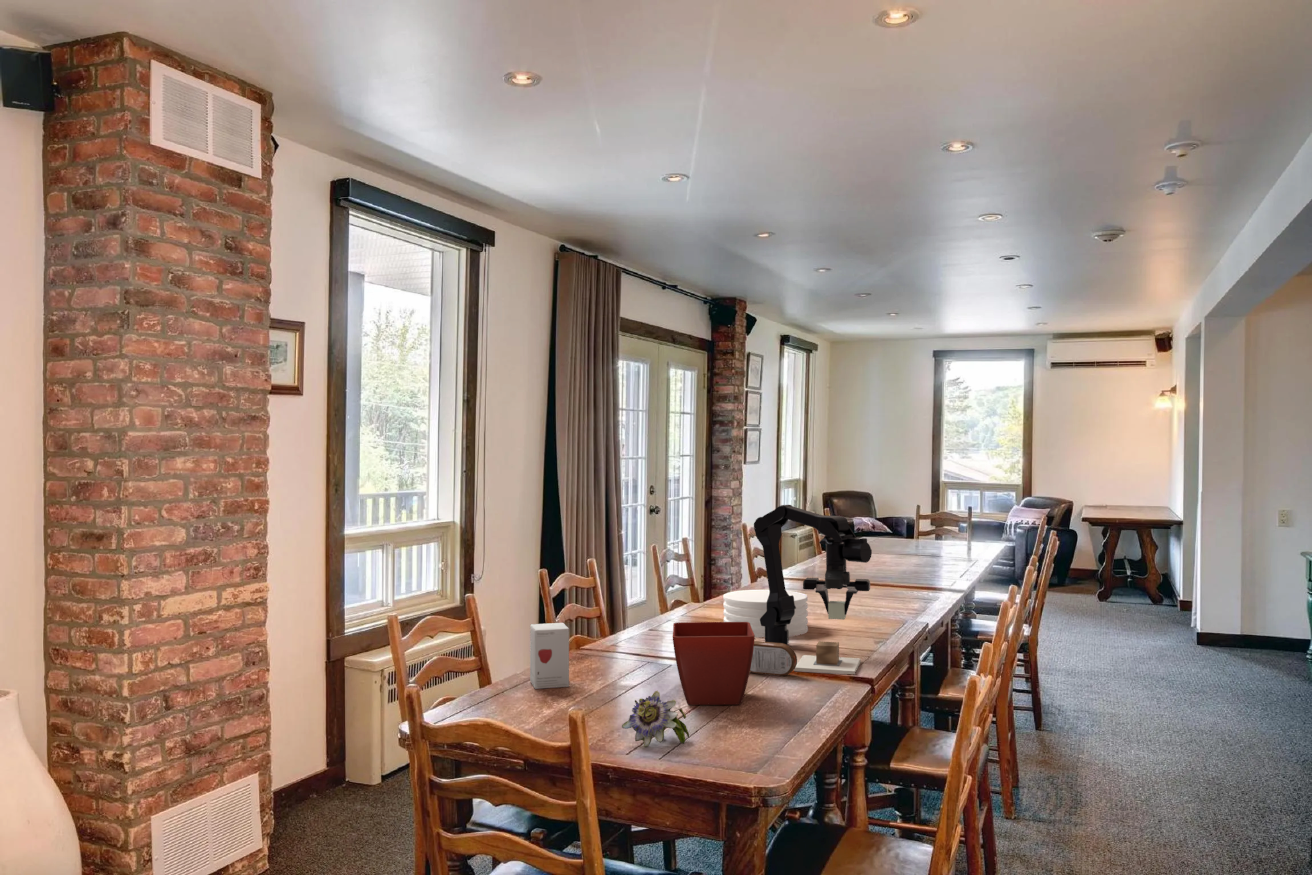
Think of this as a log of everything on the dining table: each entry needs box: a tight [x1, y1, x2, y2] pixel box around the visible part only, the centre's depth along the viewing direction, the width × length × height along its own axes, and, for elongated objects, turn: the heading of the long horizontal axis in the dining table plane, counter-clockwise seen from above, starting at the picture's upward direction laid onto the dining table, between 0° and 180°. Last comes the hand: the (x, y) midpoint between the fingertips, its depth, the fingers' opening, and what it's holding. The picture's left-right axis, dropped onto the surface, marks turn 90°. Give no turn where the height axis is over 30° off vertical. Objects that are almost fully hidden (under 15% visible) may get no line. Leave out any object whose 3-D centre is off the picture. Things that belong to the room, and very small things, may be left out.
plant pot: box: [672, 621, 756, 706], centre depth 222 cm, size 19×19×17 cm
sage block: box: [827, 600, 847, 620], centre depth 267 cm, size 4×4×4 cm
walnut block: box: [815, 640, 840, 665], centre depth 254 cm, size 6×6×5 cm
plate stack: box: [722, 588, 809, 638], centre depth 309 cm, size 28×28×12 cm
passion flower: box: [621, 690, 690, 748], centre depth 190 cm, size 11×11×12 cm
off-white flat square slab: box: [793, 654, 861, 676], centre depth 254 cm, size 16×16×1 cm
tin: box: [750, 640, 798, 677], centre depth 246 cm, size 15×3×8 cm, turn 65°
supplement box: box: [529, 622, 570, 690], centre depth 238 cm, size 9×9×15 cm
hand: (837, 614), depth 267 cm, fingers closed on sage block, 4 cm apart
